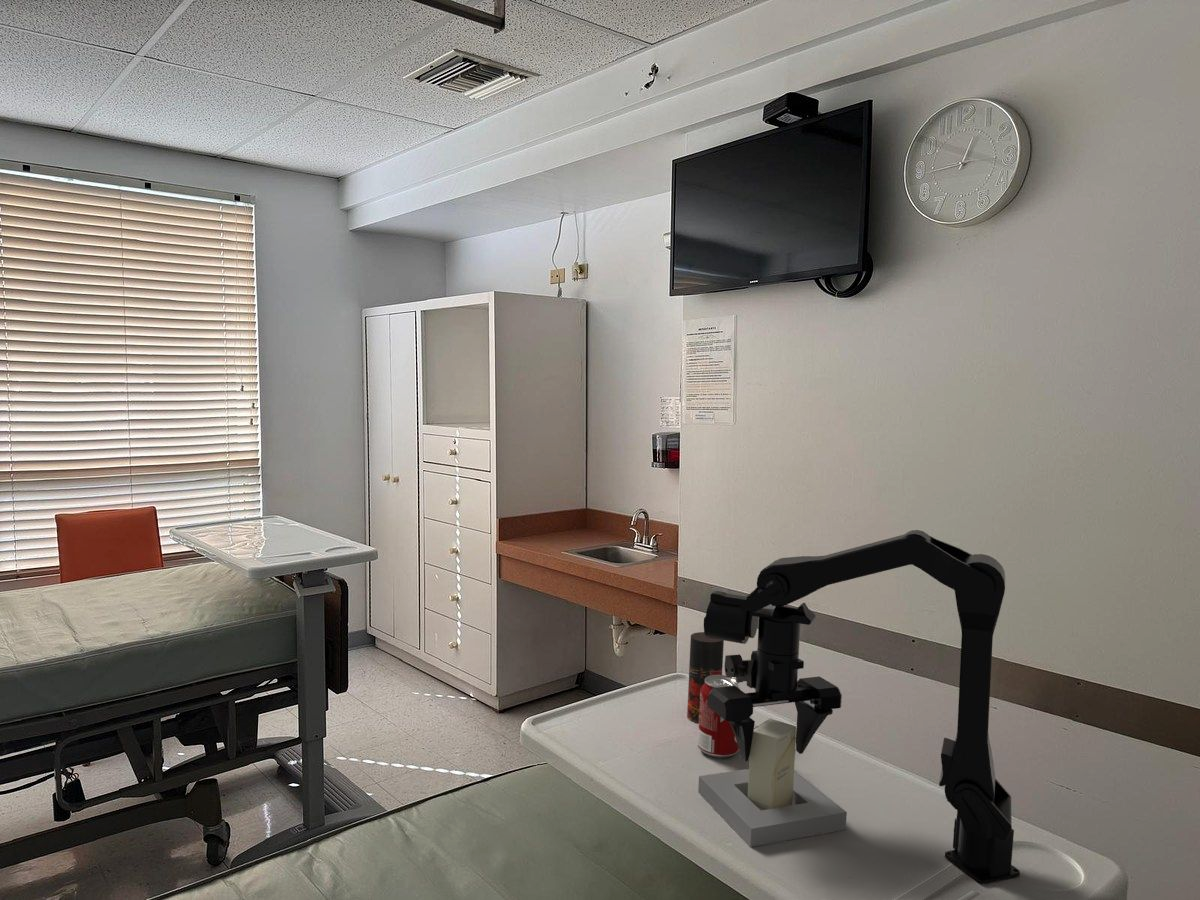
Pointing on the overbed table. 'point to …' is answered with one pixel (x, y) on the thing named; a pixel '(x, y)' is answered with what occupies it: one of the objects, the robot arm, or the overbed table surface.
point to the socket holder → (771, 825)
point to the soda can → (715, 722)
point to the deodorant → (702, 668)
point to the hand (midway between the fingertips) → (772, 756)
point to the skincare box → (772, 765)
